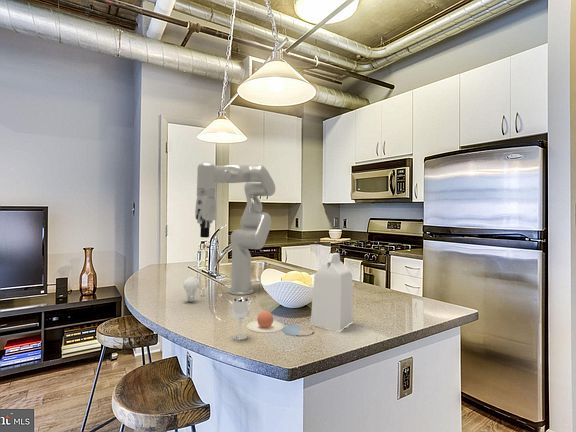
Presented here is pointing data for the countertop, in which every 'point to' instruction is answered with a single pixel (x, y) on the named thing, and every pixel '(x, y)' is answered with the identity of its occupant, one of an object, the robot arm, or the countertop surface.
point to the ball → (265, 319)
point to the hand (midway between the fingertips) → (204, 237)
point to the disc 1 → (273, 328)
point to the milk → (332, 295)
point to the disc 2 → (291, 329)
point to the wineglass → (240, 314)
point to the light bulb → (191, 287)
